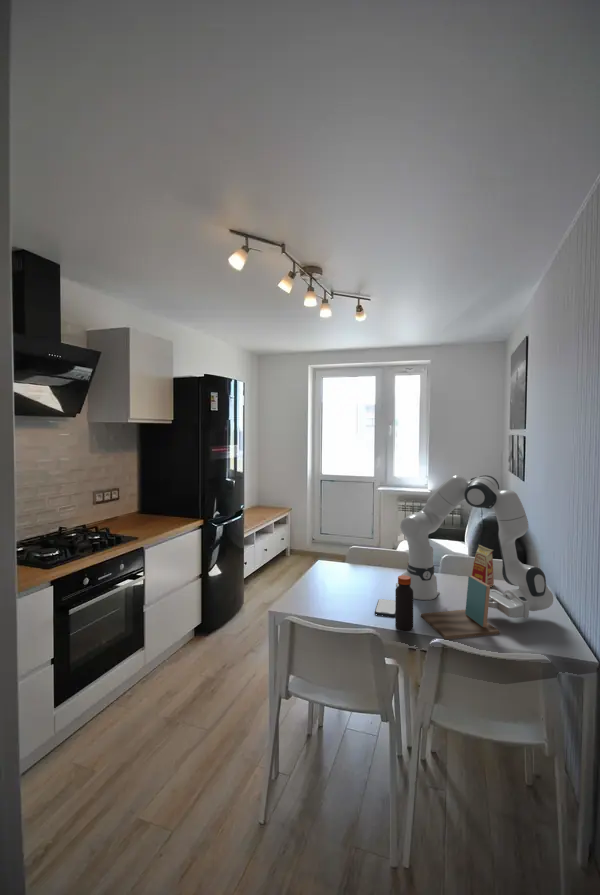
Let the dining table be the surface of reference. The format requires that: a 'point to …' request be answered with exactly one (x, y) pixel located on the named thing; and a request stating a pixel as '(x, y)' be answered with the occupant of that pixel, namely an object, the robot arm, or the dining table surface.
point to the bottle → (404, 604)
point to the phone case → (385, 608)
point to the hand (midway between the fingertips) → (482, 603)
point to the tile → (477, 601)
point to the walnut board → (457, 624)
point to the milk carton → (483, 566)
